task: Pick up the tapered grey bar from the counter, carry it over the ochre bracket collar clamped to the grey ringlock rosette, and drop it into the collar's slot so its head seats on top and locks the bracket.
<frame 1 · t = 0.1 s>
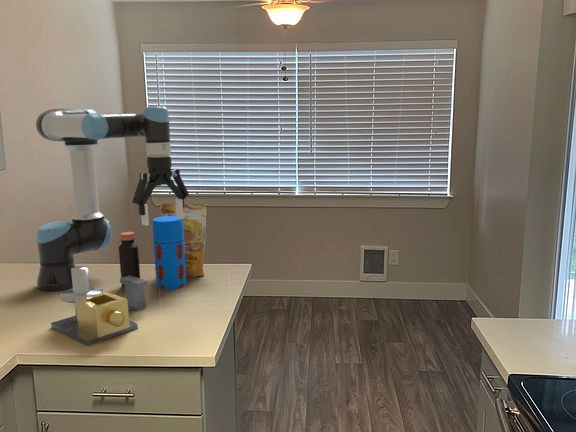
hand: (163, 221, 178), 28 cm above the worktop, fingers open, 13 cm apart
bottle: (131, 286, 203), on the worktop
pancake mix bag: (185, 274, 216), on the worktop
tapered grey bar: (135, 307, 180), on the worktop
thermos: (171, 285, 203), on the worktop
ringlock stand: (95, 328, 163), on the worktop
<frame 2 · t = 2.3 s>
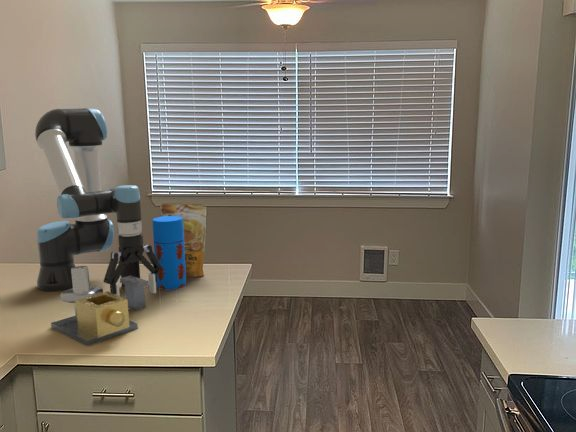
hand: (135, 297, 179), 3 cm above the worktop, fingers open, 13 cm apart
nothing on the worktop moved.
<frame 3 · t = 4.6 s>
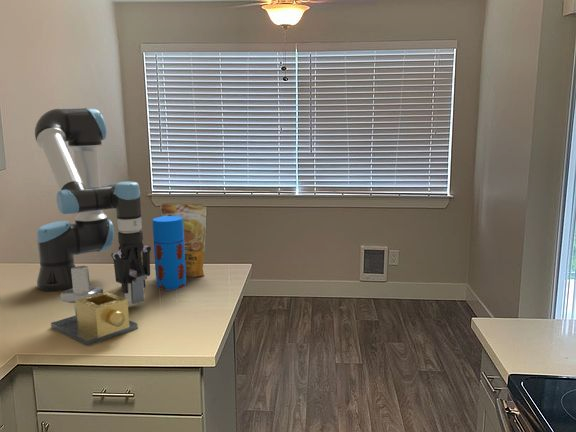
hand: (134, 299, 180), 2 cm above the worktop, fingers closed on tapered grey bar, 4 cm apart
tapered grey bar: (134, 300, 180), point 2 cm above the worktop, touching gripper
everything else where it was.
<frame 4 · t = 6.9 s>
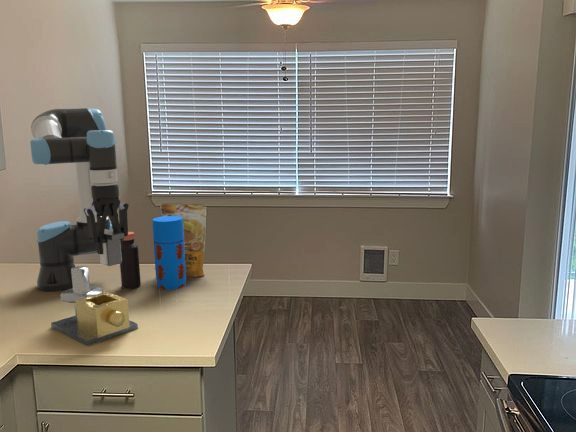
hand: (111, 262, 163), 19 cm above the worktop, fingers closed on tapered grey bar, 4 cm apart
tapered grey bar: (110, 263, 163), point 19 cm above the worktop, touching gripper
everything else where it was.
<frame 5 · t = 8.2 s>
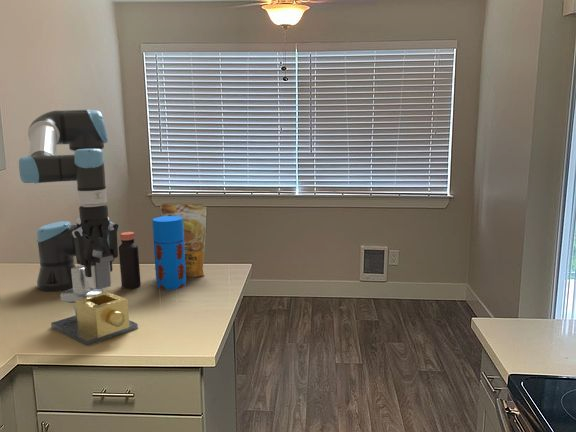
hand: (100, 285, 157), 14 cm above the worktop, fingers closed on tapered grey bar, 4 cm apart
tapered grey bar: (99, 286, 157), point 14 cm above the worktop, touching gripper
everything else where it was.
when the fingers open (12 cm above the worktop, at t = 9.2 s): tapered grey bar drops 10 cm, resting on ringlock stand.
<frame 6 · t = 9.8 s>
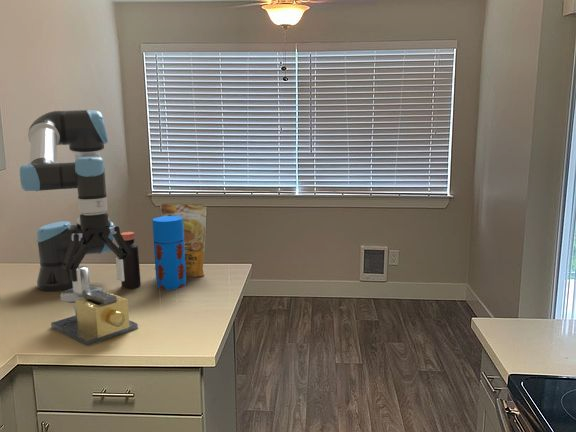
hand: (100, 286, 157), 14 cm above the worktop, fingers open, 13 cm apart
tapered grey bar: (102, 326, 159), point 2 cm above the worktop, touching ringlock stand
everything else where it was.
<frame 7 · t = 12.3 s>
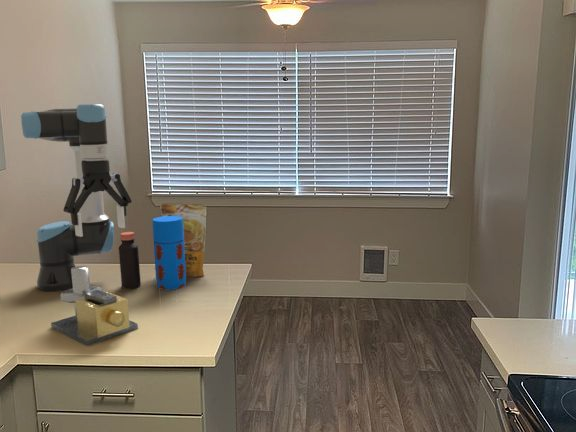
hand: (101, 231, 161), 29 cm above the worktop, fingers open, 13 cm apart
nothing on the worktop moved.
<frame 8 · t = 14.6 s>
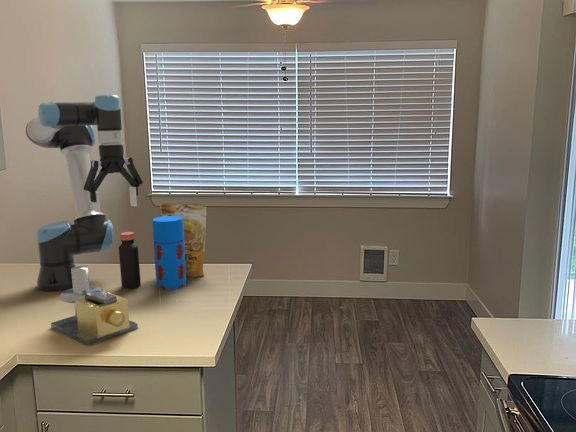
hand: (116, 209, 181), 32 cm above the worktop, fingers open, 13 cm apart
nothing on the worktop moved.
at the end: tapered grey bar 0.2 cm from the target spot on the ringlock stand, point 2.0 cm above the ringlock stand's base; tapered grey bar tilted 0°; the gripper is holding nothing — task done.
